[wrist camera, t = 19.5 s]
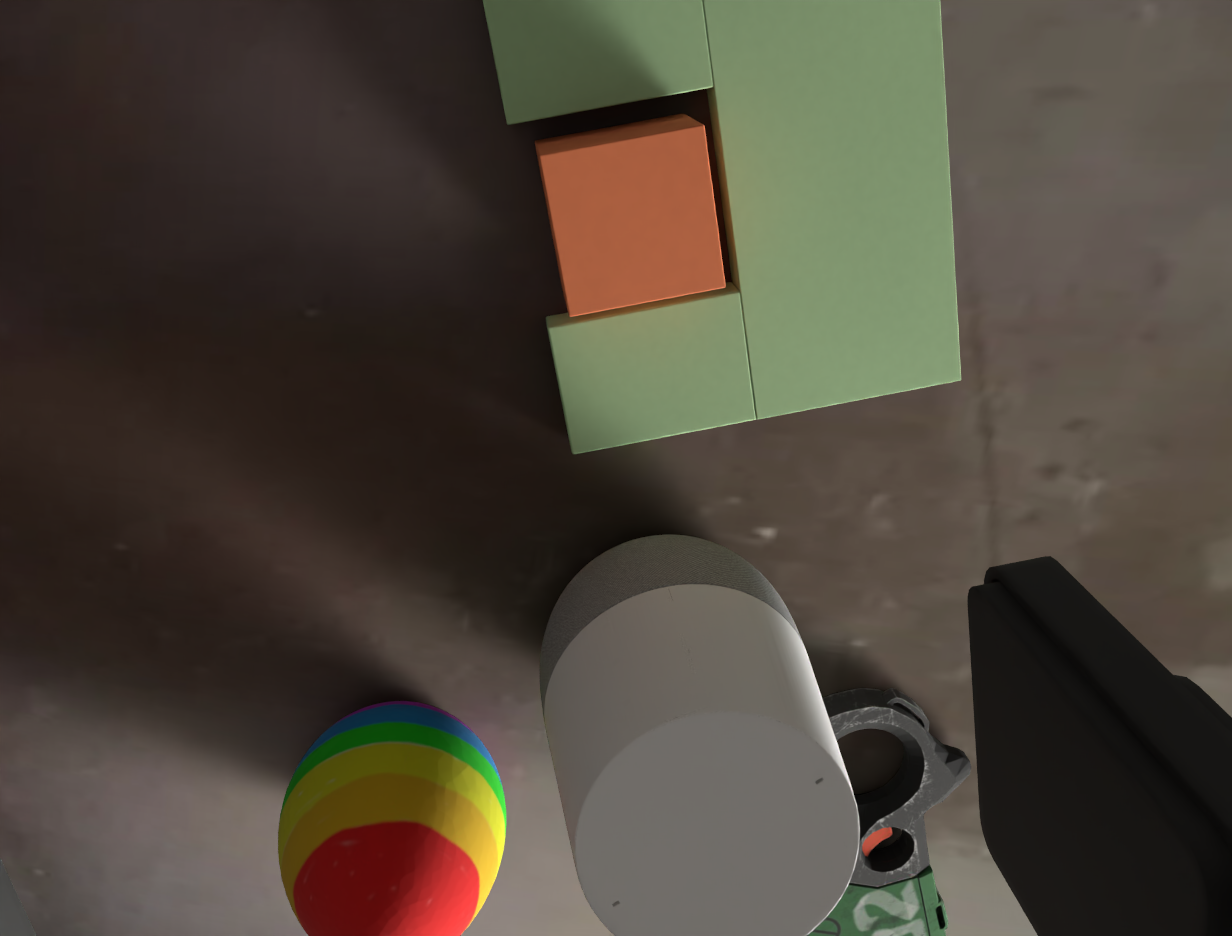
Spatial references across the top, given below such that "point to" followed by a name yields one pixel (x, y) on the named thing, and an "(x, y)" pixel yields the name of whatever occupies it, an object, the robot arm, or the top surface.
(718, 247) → the orange block
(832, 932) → the gun
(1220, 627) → the top surface
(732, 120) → the green u-shaped slab
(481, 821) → the decorative egg
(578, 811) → the smart speaker
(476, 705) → the top surface
